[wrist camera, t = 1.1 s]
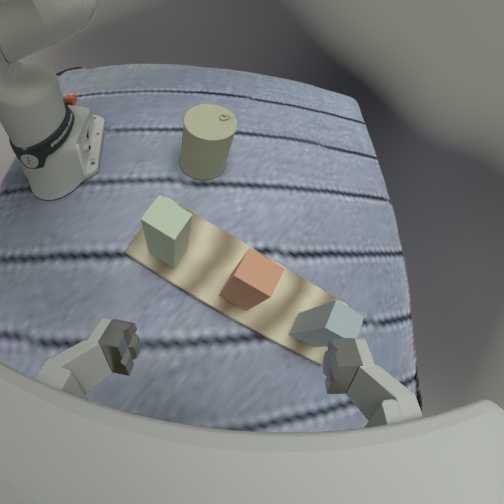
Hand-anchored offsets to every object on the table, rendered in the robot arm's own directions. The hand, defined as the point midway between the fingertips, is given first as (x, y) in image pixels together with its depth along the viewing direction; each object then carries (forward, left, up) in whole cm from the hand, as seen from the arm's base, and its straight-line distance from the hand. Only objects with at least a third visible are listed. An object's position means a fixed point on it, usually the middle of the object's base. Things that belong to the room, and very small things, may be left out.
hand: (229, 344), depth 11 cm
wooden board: (-11, +8, -33) cm, 36 cm away
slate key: (-3, +18, -31) cm, 37 cm away
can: (-35, 0, -33) cm, 48 cm away
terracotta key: (-9, +7, -31) cm, 33 cm away
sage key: (-15, -4, -31) cm, 35 cm away
